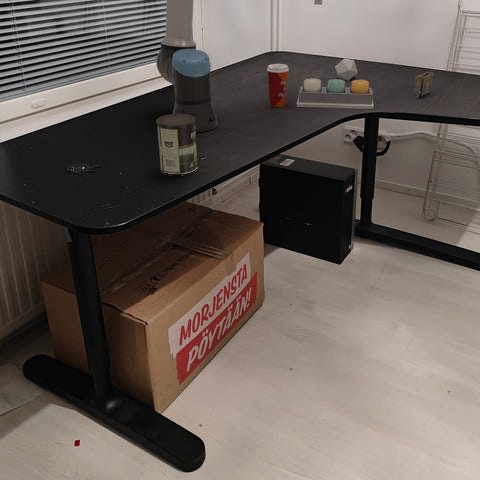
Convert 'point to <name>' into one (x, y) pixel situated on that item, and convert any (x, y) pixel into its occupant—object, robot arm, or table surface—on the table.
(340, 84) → the teal button
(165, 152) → the coffee can
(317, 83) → the ivory button
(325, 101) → the panel
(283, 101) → the paper cup
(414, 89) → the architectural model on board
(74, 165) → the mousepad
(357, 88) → the orange candle
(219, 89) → the table surface
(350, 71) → the die
